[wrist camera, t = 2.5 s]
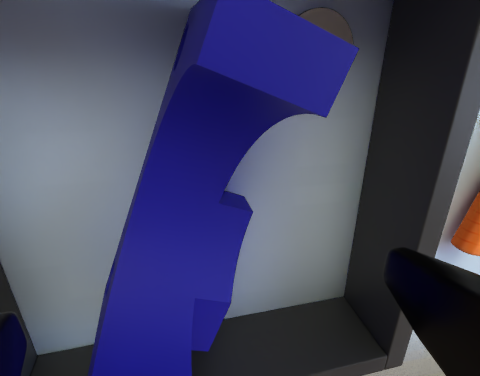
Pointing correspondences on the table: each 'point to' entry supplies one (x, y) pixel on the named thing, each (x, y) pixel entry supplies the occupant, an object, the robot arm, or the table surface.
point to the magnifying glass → (469, 230)
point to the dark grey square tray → (360, 210)
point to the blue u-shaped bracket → (206, 178)
